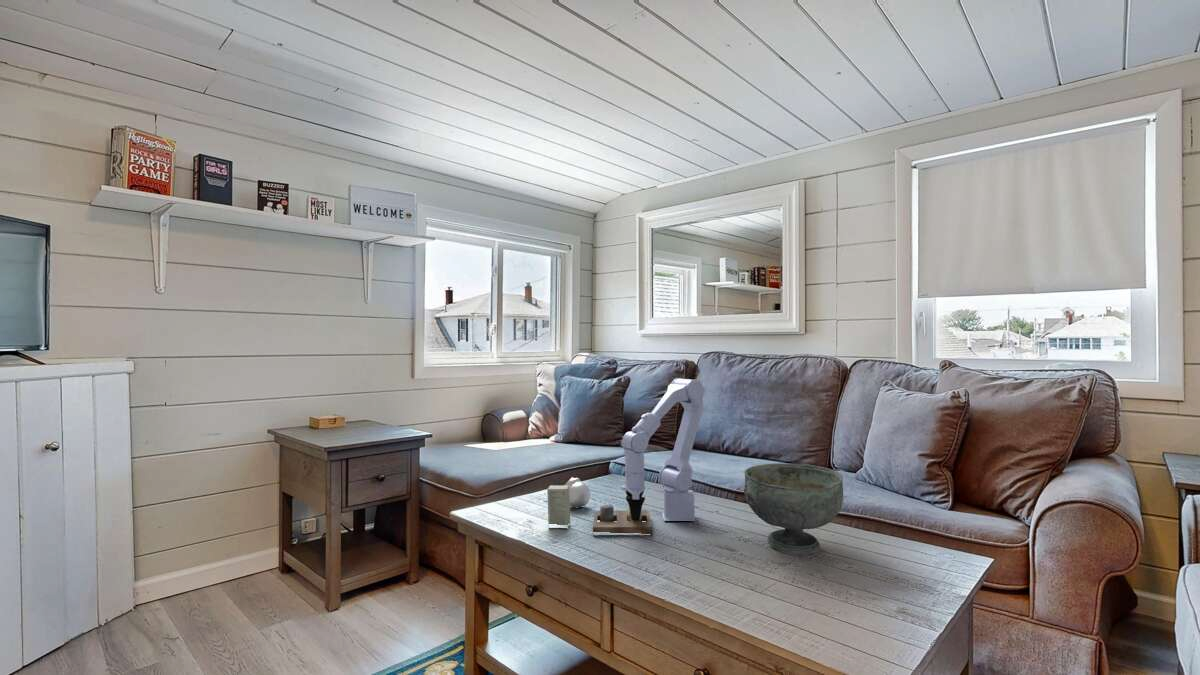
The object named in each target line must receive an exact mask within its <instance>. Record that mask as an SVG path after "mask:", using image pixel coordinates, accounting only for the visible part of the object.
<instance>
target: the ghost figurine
mask: <svg viewBox="0 0 1200 675" xmlns="http://www.w3.org/2000/svg"><path fill="white" fill-rule="evenodd" d="M564 485H569V497H570V507H571V506H572V507H571V508H573V507H582V506H584V507H585V506H586V505H588V503H589V501H590V499H591V490H590V488H589V486H588V485H587V484H586V483H585V482H583V481H582V480H581V479H580V478H579V477H571V478H569V479H568V481H567V482H565V484H564ZM582 508H583V507H582Z"/></svg>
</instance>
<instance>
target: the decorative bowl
mask: <svg viewBox="0 0 1200 675" xmlns="http://www.w3.org/2000/svg"><path fill="white" fill-rule="evenodd" d="M743 472H744V488H743V493H744V497H745V501H746V503H747V505H748V506H749V507H750V509H751V511H752V512H754V514H755V515H756V516H757V517H758V518H759V519H761V521H763V522H765V523H766V524H767V525H770V526H772V527H779V528H782V529H778V530H774V531H772V532H771V533H769V534H768V536H767V543H768V544H769V545H770V547H772V548H773V549H775V550H777V551H779V552H782V553H786V554H789V555H800V556H801V555H803V556H806V555H812V554H815V553H817V552H818V551H820V549H821V545H820V542H819V540H818V539H817V538H816V537H815V536H814V535H813V534H810V533H809V532H806V531H804V530H813V529H818V528H821V527H824V526H826V525H827V524H830V523H831V522H832V521H834V519H835V518H836V517H837V516H838V514H839V513H840V511H841V510H842V505H843V502H844V500H843V499H844V485H843V484H844V482H843V481H844V480H843V479H844V478H843V474H841V473H840V472H839V471H837V470H835V469H831V468H828V467H824V466H818V465H813V464H812V465H811V464H805V463H801V464H800V463H789V462H788V463H784V462H782V463H780V462H779V463H763V464H756V465H752V466H749V467H747V468H746V469H744V471H743Z"/></svg>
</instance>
